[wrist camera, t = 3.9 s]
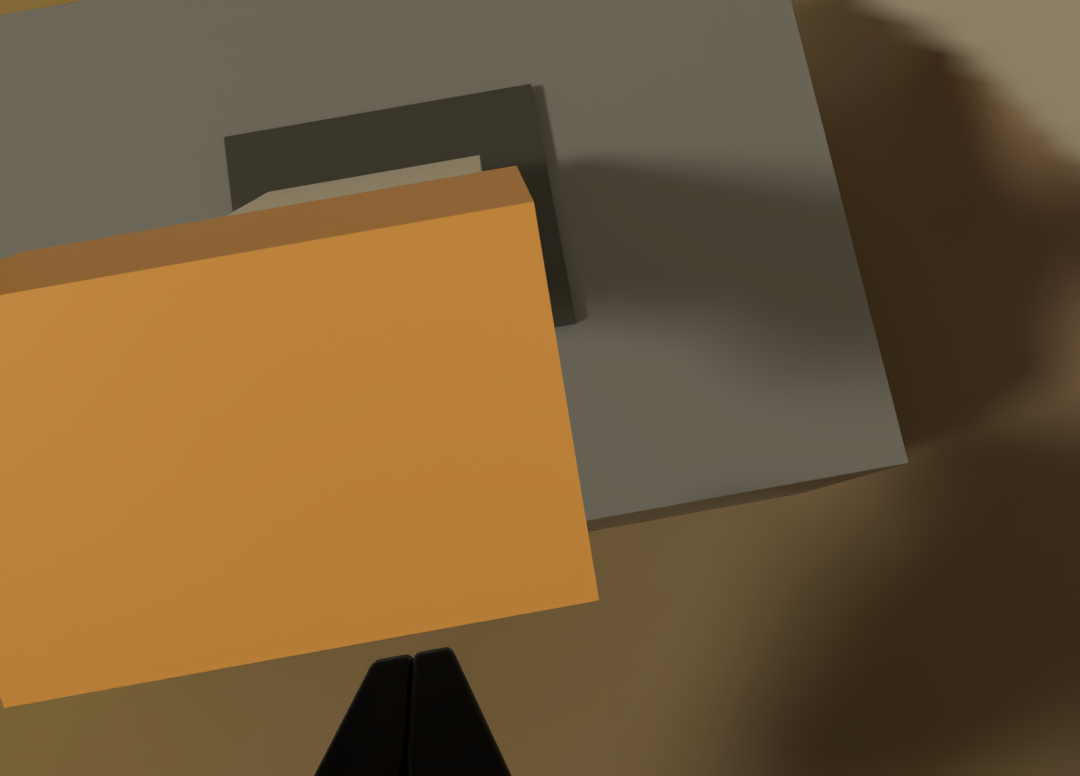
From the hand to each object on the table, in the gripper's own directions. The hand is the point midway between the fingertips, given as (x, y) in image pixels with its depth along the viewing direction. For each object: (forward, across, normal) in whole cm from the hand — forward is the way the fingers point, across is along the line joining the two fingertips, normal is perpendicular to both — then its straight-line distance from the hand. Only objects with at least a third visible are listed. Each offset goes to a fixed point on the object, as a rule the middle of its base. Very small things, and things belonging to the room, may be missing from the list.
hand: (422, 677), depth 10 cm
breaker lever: (+7, 0, -2) cm, 7 cm away
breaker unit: (+11, 0, +2) cm, 12 cm away
